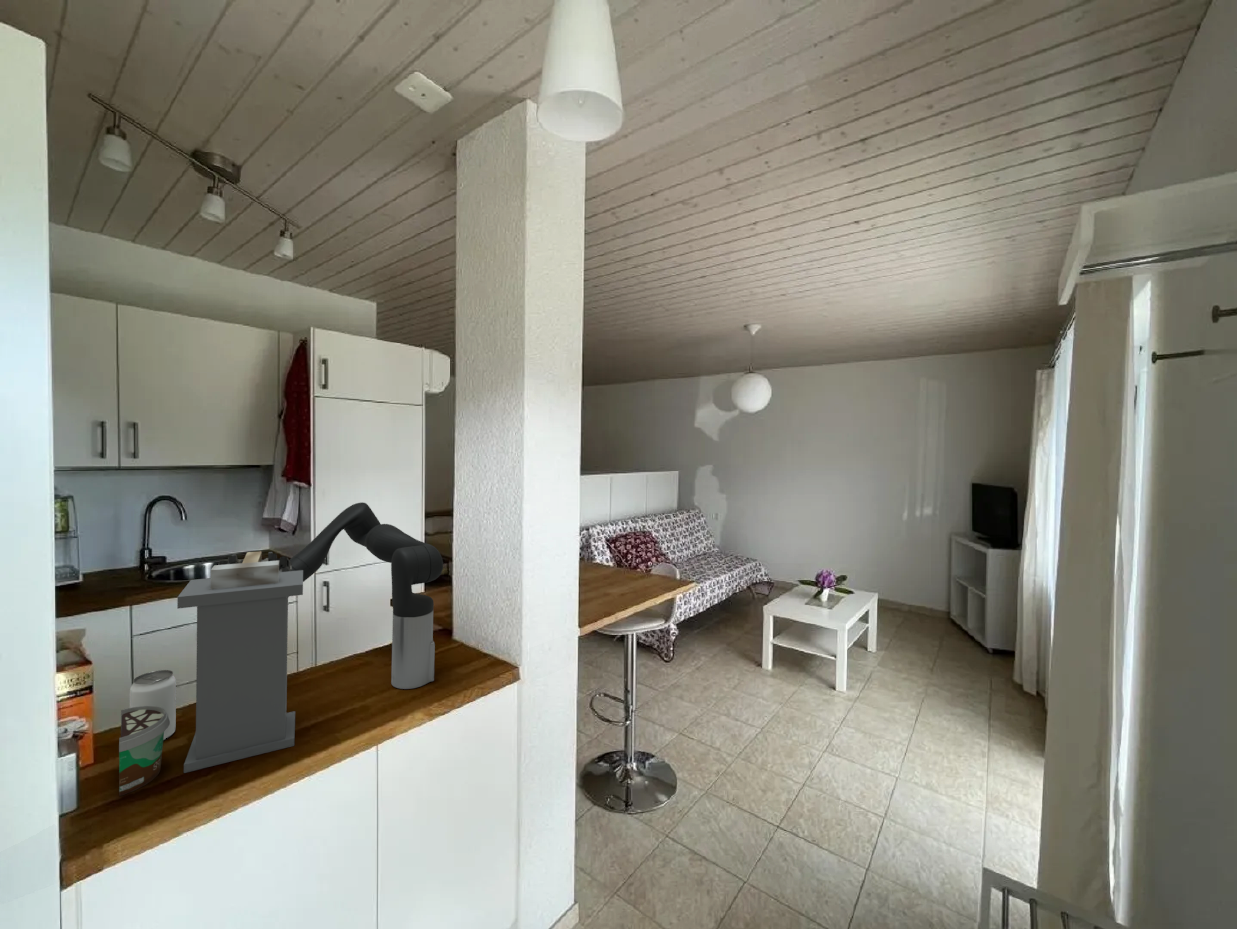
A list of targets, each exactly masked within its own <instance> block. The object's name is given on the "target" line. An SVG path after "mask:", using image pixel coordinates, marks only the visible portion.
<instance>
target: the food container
mask: <svg viewBox="0 0 1237 929" xmlns="http://www.w3.org/2000/svg"><path fill="white" fill-rule="evenodd" d="M169 724H170V721H169V718H168V715H167V713H166V712H165V710H164V709H163V708H161V707H157V706H140V707H133V708H130V707H127V708H123V709H120V737H119V739H118V741H119V742H118V762H119V763H118V764H119V766H118V770H119V771H118V774H119V775H118V777H119V778H118V780H119V781H118V782H119V784H118V786H119V787H118V788H119V789H118V793H119V794H118V795H119V797H122V796H124V795H126V794H130V793H132V792H134V791H136V790H138V789H140V788H143V787H144V786H146V785H147V784H149V783H150V782H152V781H153V780H155V778H157V776H158V775H159V774H160V772H161V765H162V756H163V747H164V746H163V745H164V740H163V738H164V731H165V730H166V729H167V728H168V726H169Z"/></svg>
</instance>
